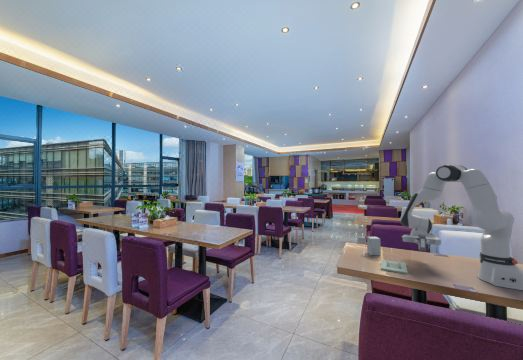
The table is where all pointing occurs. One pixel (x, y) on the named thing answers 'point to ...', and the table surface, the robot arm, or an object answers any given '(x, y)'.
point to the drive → (422, 242)
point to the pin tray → (394, 266)
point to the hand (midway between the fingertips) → (422, 242)
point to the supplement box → (374, 245)
